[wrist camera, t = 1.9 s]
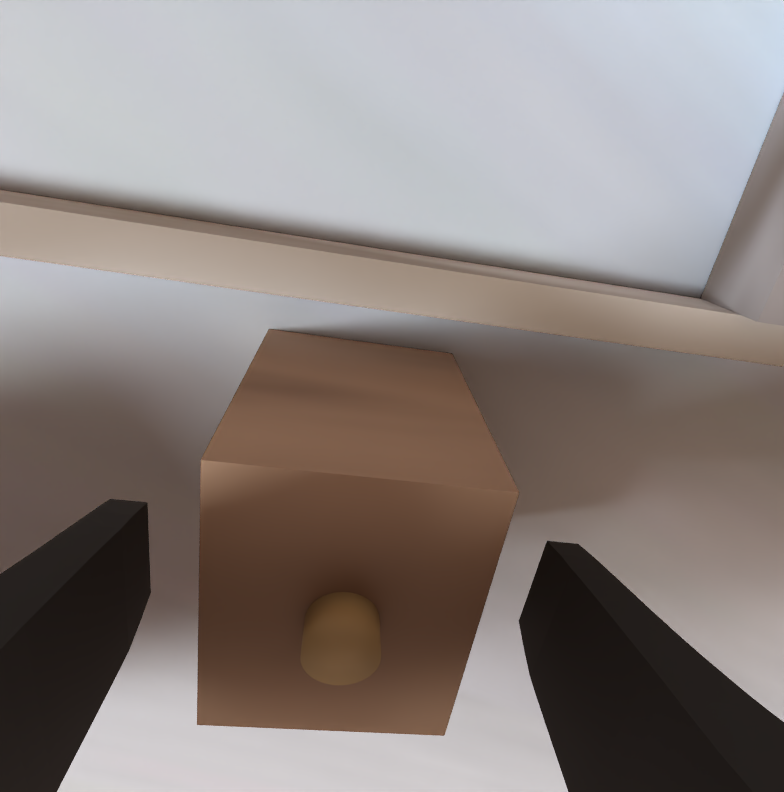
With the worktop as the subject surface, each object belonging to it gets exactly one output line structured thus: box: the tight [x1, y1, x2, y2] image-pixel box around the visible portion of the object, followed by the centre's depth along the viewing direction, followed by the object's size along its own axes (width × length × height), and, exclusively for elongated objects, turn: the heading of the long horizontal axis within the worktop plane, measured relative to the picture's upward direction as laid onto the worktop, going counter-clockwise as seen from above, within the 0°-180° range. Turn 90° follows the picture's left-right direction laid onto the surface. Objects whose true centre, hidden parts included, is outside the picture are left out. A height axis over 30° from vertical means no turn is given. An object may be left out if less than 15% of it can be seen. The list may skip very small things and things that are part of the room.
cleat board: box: [0, 93, 784, 367], centre depth 8 cm, size 9×19×5 cm, turn 81°
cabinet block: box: [197, 329, 519, 736], centre depth 11 cm, size 6×4×7 cm
